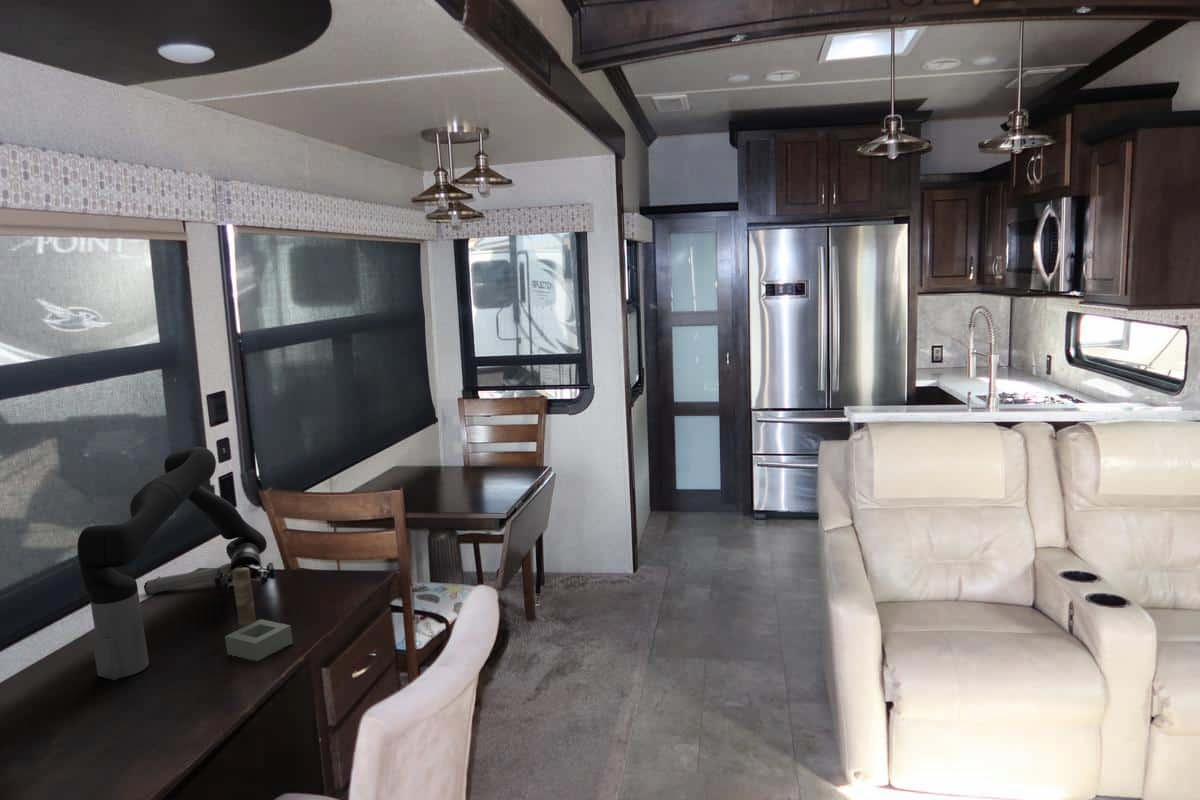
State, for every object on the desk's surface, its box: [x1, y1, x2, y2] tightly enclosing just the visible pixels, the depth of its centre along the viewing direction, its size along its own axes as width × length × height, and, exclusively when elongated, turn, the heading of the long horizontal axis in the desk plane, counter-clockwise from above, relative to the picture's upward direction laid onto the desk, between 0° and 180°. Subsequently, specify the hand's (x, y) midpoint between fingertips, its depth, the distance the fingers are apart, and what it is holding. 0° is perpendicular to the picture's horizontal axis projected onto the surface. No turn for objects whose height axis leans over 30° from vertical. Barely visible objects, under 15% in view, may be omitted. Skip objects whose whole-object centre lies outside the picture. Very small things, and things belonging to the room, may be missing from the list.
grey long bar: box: [143, 562, 231, 595], centre depth 239 cm, size 5×7×25 cm
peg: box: [232, 568, 257, 630], centre depth 205 cm, size 4×4×16 cm
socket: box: [224, 619, 294, 661], centre depth 197 cm, size 10×10×4 cm
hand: (244, 584), depth 214 cm, fingers open, 8 cm apart
